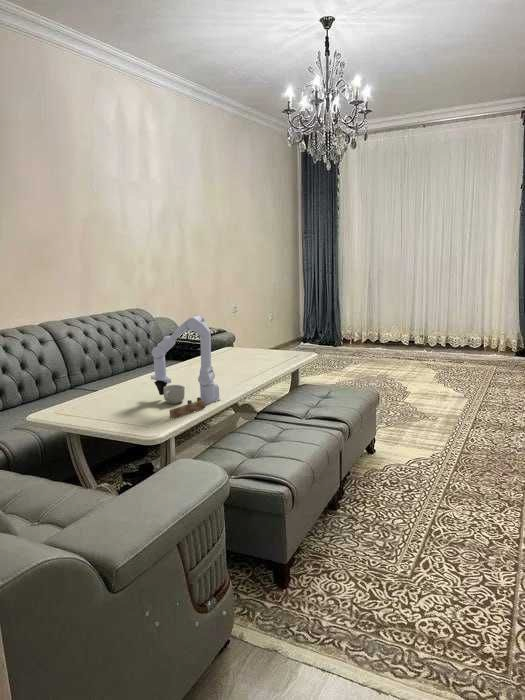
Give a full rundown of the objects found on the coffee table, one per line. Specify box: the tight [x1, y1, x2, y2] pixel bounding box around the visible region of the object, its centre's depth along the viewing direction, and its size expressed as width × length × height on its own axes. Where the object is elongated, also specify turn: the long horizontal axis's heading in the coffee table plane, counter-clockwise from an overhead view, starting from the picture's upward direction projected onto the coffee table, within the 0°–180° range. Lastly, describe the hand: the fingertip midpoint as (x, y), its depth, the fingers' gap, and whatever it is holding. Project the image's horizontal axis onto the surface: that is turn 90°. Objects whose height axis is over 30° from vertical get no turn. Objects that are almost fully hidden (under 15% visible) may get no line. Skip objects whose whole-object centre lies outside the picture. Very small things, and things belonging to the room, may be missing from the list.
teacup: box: [163, 384, 186, 405], centre depth 274 cm, size 14×11×8 cm
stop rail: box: [169, 396, 206, 420], centre depth 258 cm, size 20×4×5 cm, turn 137°
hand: (161, 394), depth 280 cm, fingers closed
